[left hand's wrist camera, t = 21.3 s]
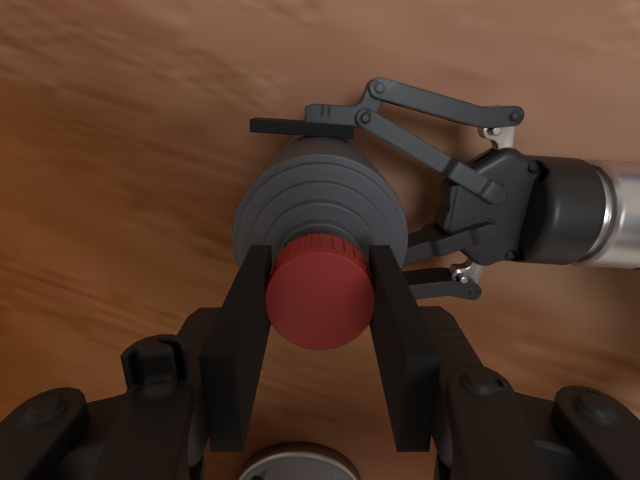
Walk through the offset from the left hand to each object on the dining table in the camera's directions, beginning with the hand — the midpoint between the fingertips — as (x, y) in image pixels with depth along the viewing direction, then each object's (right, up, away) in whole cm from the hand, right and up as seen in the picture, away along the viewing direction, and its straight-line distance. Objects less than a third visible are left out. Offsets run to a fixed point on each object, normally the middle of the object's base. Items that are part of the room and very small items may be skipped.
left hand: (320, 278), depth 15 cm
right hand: (-5, +5, +12) cm, 14 cm away
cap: (0, -1, -1) cm, 2 cm away
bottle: (0, +7, +18) cm, 20 cm away
